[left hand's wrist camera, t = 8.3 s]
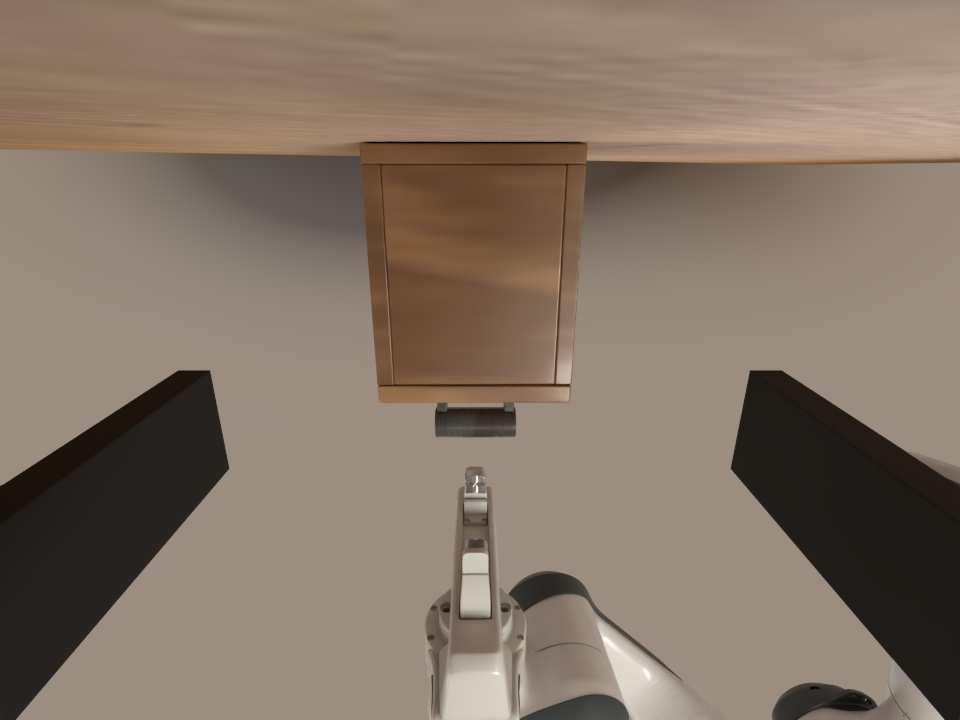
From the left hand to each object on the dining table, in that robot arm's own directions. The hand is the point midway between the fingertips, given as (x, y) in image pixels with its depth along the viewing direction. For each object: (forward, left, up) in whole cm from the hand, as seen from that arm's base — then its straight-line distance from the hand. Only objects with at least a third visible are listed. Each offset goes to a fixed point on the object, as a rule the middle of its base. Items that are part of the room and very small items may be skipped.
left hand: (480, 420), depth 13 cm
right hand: (+15, -16, +19) cm, 29 cm away
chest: (+11, -13, -7) cm, 18 cm away
